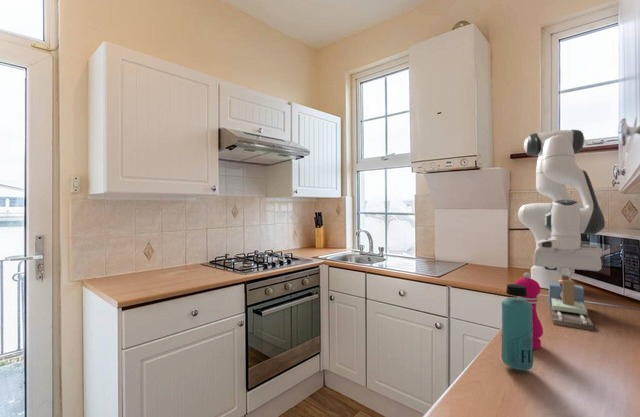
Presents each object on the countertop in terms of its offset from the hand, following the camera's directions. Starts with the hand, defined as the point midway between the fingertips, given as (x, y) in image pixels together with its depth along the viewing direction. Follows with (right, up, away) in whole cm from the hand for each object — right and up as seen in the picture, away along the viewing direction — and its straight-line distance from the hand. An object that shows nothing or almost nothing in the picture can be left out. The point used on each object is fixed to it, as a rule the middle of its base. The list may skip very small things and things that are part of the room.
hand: (565, 280), depth 119 cm
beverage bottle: (-46, -11, -44) cm, 65 cm away
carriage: (-5, -8, -8) cm, 12 cm away
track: (-7, -10, -11) cm, 17 cm away
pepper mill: (-35, -11, -31) cm, 48 cm away
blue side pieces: (0, -10, 0) cm, 10 cm away
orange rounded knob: (0, -5, 0) cm, 5 cm away
